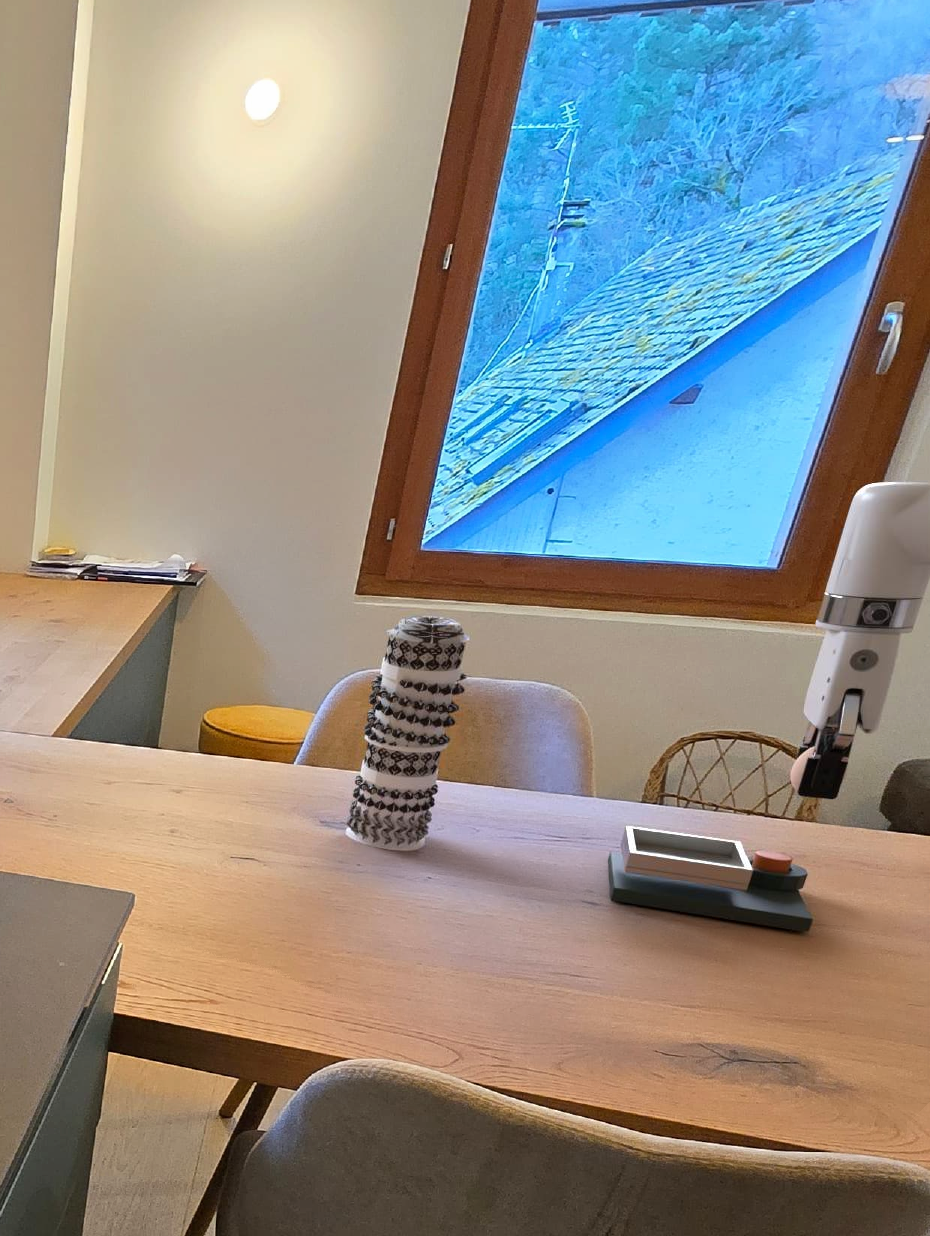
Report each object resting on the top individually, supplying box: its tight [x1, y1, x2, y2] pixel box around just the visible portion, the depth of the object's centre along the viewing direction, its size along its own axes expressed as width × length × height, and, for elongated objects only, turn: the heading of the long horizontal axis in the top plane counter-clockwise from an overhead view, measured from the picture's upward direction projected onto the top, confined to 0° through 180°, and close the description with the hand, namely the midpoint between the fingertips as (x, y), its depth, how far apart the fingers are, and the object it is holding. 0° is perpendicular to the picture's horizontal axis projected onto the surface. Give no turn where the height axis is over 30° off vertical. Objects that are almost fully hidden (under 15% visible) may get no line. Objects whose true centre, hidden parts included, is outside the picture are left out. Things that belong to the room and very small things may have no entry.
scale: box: [607, 851, 814, 933], centre depth 122 cm, size 16×14×3 cm
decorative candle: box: [345, 615, 471, 852], centre depth 132 cm, size 9×9×25 cm
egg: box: [789, 746, 848, 799], centre depth 125 cm, size 4×4×6 cm
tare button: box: [752, 850, 794, 872], centre depth 122 cm, size 3×3×2 cm
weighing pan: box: [620, 825, 753, 890], centre depth 121 cm, size 10×10×2 cm
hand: (812, 789), depth 126 cm, fingers closed on egg, 4 cm apart
